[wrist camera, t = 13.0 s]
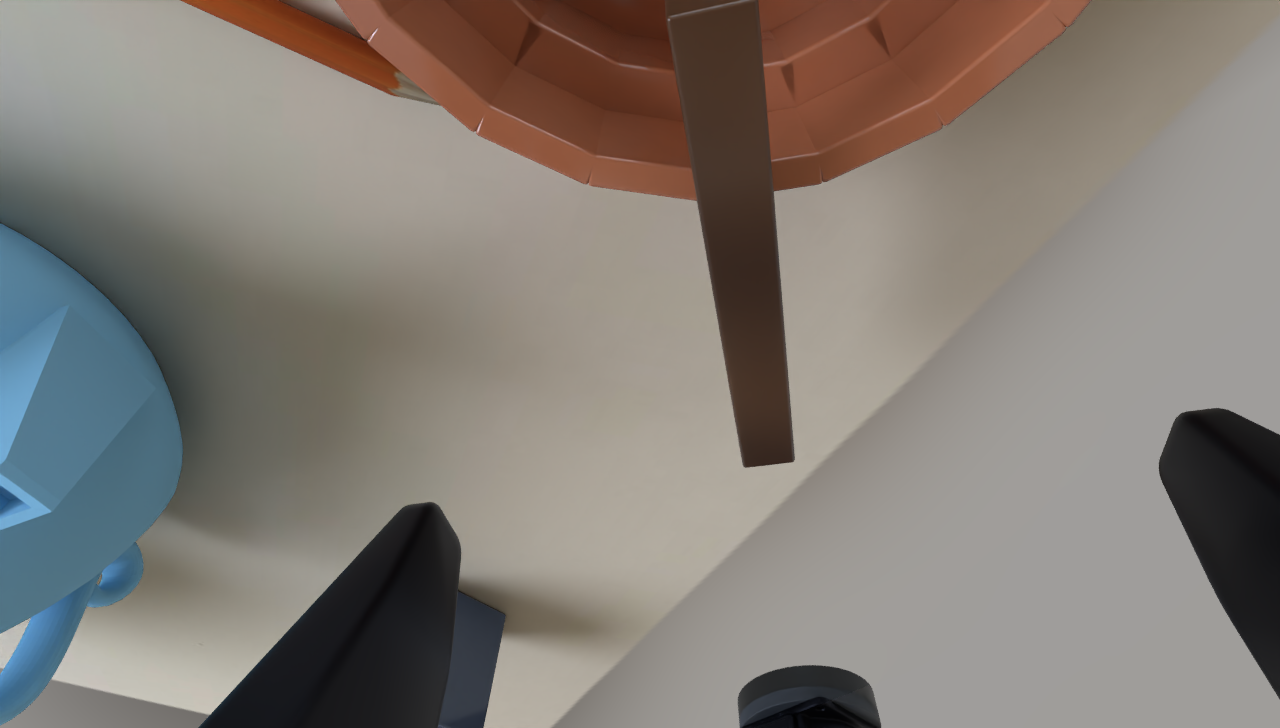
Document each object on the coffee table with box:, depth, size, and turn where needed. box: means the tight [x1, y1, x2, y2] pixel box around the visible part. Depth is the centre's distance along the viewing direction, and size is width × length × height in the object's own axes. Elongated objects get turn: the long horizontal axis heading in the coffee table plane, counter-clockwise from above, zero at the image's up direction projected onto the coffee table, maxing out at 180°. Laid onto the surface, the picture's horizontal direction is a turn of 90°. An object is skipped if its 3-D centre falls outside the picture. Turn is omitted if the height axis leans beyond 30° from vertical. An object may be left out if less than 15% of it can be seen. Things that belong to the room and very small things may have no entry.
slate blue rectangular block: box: [438, 591, 506, 728], centre depth 28 cm, size 4×2×5 cm, turn 46°
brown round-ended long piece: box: [665, 0, 795, 468], centre depth 13 cm, size 14×4×7 cm, turn 12°
